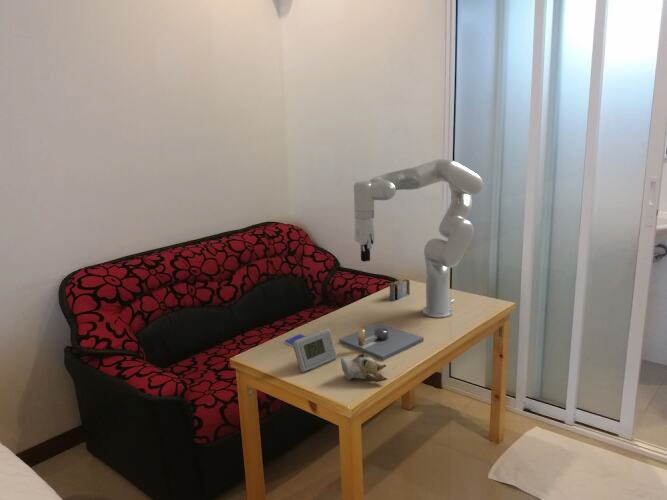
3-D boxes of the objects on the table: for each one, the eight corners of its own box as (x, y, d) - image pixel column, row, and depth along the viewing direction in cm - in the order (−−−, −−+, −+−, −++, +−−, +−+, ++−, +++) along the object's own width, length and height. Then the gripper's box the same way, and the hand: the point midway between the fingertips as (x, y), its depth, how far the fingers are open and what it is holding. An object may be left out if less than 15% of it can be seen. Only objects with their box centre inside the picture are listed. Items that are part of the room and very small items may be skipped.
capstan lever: (381, 333, 211) (380, 318, 209) (390, 337, 207) (390, 322, 205) (354, 344, 202) (354, 328, 200) (364, 348, 198) (363, 332, 197)
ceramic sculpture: (341, 346, 185) (386, 348, 184) (340, 370, 187) (385, 372, 186) (340, 361, 174) (388, 363, 174) (339, 386, 177) (386, 388, 176)
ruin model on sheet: (395, 302, 250) (395, 281, 247) (389, 301, 252) (389, 280, 249) (410, 295, 257) (410, 275, 255) (405, 294, 259) (405, 274, 257)
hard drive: (284, 340, 210) (306, 349, 202) (300, 333, 216) (322, 342, 207) (284, 344, 211) (306, 353, 202) (300, 337, 216) (322, 346, 208)
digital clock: (300, 375, 185) (298, 345, 182) (288, 364, 193) (286, 336, 190) (342, 362, 193) (341, 334, 190) (329, 353, 200) (328, 325, 198)
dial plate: (379, 326, 223) (379, 321, 222) (423, 341, 207) (423, 336, 207) (339, 342, 208) (339, 338, 208) (383, 360, 193) (383, 355, 192)
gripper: (348, 211, 218) (350, 257, 223) (362, 218, 204) (363, 266, 209) (366, 210, 220) (367, 255, 225) (381, 216, 206) (381, 264, 211)
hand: (365, 260), depth 217 cm, fingers closed
